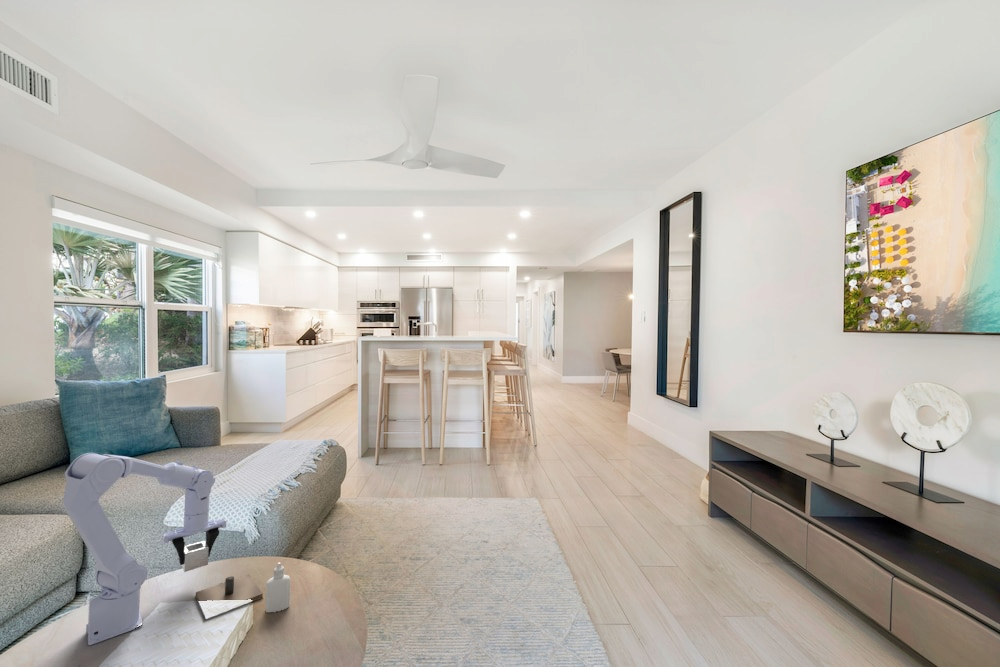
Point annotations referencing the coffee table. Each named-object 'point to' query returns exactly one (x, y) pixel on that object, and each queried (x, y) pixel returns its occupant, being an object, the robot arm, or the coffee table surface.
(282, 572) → the eye dropper bottle
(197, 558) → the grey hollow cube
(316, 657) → the coffee table surface
